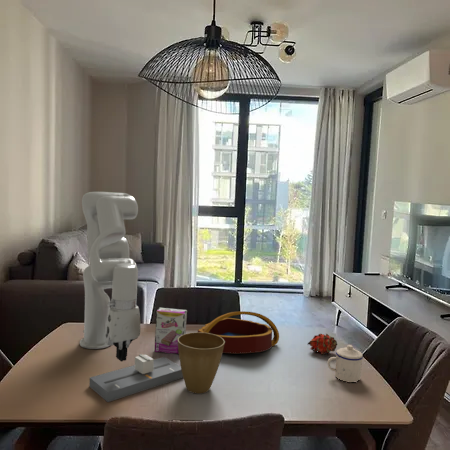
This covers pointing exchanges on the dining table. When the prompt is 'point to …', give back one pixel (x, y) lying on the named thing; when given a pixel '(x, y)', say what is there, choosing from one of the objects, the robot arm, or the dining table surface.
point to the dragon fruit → (323, 343)
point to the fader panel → (134, 379)
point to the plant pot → (199, 359)
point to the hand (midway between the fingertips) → (121, 359)
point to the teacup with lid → (347, 364)
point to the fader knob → (144, 363)
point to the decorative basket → (243, 333)
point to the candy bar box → (169, 329)
